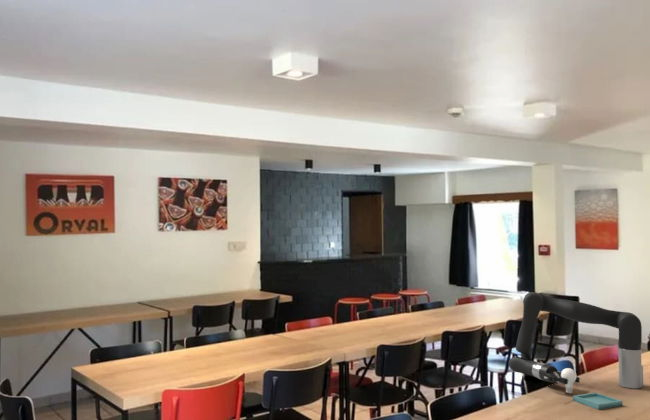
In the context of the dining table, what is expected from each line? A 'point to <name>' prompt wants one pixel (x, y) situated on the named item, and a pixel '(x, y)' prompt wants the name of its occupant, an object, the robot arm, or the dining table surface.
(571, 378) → the lightbulb
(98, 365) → the dining table surface
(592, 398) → the tray
